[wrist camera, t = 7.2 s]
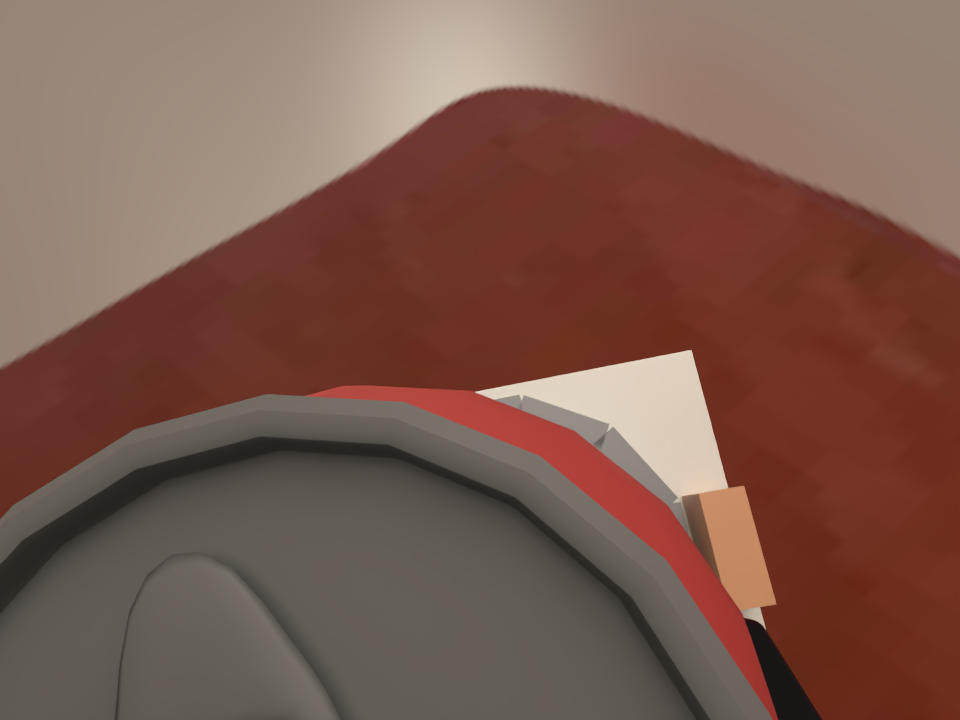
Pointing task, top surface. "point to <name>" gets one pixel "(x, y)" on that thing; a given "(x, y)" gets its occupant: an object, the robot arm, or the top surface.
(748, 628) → the robot arm
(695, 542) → the board
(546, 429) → the beer can
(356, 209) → the top surface
